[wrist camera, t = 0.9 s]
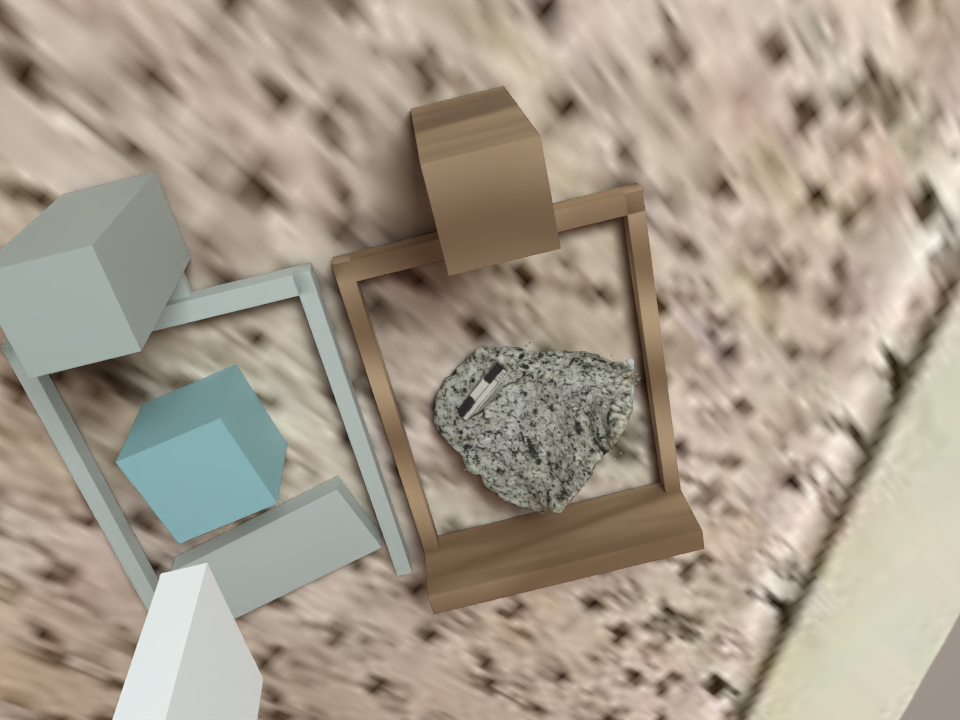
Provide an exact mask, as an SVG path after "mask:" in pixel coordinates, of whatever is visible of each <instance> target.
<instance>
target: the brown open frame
mask: <svg viewBox="0 0 960 720" xmlns="http://www.w3.org/2000/svg"><path fill="white" fill-rule="evenodd" d="M411 115H412V120H413V126H414V131H415V137H416V143H417V148H418V154H419V160H420V165H421V169H422V173H423V177H424V181H425V185H426V189H427V193H428V197H429V200H430V204H431V208H432V212H433V216H434V220H435V224H436V228H437V232H434V233H430V234H426V235H422V236H418V237H414V238H410V239H406V240H401V241H397V242H393V243H389V244H385V245H381V246H377V247H373V248H369V249H365V250H361V251H357V252H353V253H348V254H344V255H340V256H336V257H333V260H332V267H333V270H334V274H335V277H336V280H337V283H338V286H339V289H340V292H341V295H342V298H343V301H344V304H345V307H346V311H347V314H348V317H349V320H350V323H351V326H352V329H353V332H354V335H355V338H356V341H357V345H358V348H359V351H360V354H361V357H362V360H363V363H364V366H365V369H366V372H367V375H368V378H369V382H370V385H371V388H372V391H373V394H374V397H375V400H376V403H377V406H378V409H379V412H380V415H381V419H382V422H383V425H384V428H385V431H386V434H387V437H388V440H389V443H390V446H391V449H392V453H393V456H394V459H395V462H396V465H397V468H398V471H399V474H400V477H401V480H402V483H403V486H404V490H405V493H406V496H407V499H408V502H409V505H410V508H411V511H412V514H413V517H414V520H415V524H416V527H417V530H418V533H419V536H420V539H421V542H422V545H423V548H424V551H425V563H426V576H427V589H428V598H429V601H430V604H431V607H432V610H433V613H434V614H437V613H441V612H445V611H449V610H454V609H458V608H462V607H466V606H470V605H474V604H478V603H482V602H487V601H491V600H495V599H499V598H503V597H507V596H511V595H515V594H520V593H524V592H528V591H532V590H536V589H540V588H544V587H548V586H552V585H557V584H561V583H565V582H569V581H573V580H577V579H581V578H585V577H590V576H594V575H598V574H602V573H606V572H610V571H614V570H618V569H623V568H627V567H631V566H635V565H639V564H643V563H647V562H651V561H656V560H660V559H664V558H668V557H672V556H676V555H680V554H684V553H689V552H693V551H697V550H701V549H704V542H703V533H702V529H701V527H700V525H699V523H698V522H697V520H696V518H695V516H694V514H693V512H692V510H691V508H690V506H689V505H688V503H687V501H686V499H685V497H684V495H683V493H682V491H681V489H680V481H679V473H678V465H677V457H676V450H675V442H674V434H673V426H672V418H671V410H670V402H669V394H668V386H667V379H666V371H665V363H664V355H663V347H662V339H661V331H660V323H659V316H658V308H657V300H656V292H655V284H654V276H653V268H652V260H651V252H650V245H649V237H648V229H647V221H646V213H645V205H644V197H643V189H642V188H641V187H640V186H639V185H638V184H637V183H634V184H630V185H626V186H622V187H618V188H614V189H610V190H606V191H601V192H597V193H593V194H589V195H585V196H581V197H577V198H573V199H569V200H565V201H561V202H557V203H552V197H551V192H550V186H549V181H548V175H547V170H546V164H545V159H544V153H543V148H542V142H541V137H540V134H539V133H538V132H537V130H536V129H535V128H534V126H533V125H532V124H531V122H530V121H529V120H528V118H527V117H526V116H525V114H524V113H523V111H522V110H521V109H520V107H519V106H518V105H517V103H516V102H515V101H514V99H513V98H512V97H511V95H510V94H509V93H508V91H507V90H506V89H505V87H504V86H501V87H497V88H493V89H489V90H485V91H481V92H477V93H472V94H468V95H464V96H460V97H456V98H452V99H448V100H444V101H440V102H436V103H432V104H428V105H424V106H420V107H416V108H411ZM622 216H623V220H624V227H625V234H626V241H627V248H628V255H629V262H630V269H631V277H632V284H633V291H634V298H635V305H636V312H637V319H638V326H639V333H640V341H641V348H642V355H643V362H644V369H645V376H646V383H647V390H648V398H649V405H650V412H651V419H652V426H653V433H654V440H655V447H656V454H657V462H658V469H659V476H660V482H659V483H655V484H651V485H647V486H642V487H638V488H634V489H630V490H626V491H622V492H618V493H614V494H610V495H605V496H601V497H597V498H593V499H589V500H585V501H581V502H577V503H573V504H569V505H570V506H566V508H565V509H564V511H563V512H562V513H560V514H559V513H555V512H553V511H552V510H551V511H548V512H546V513H540V512H536V513H531V514H527V515H523V516H519V517H515V518H511V519H507V520H503V521H498V522H494V523H490V524H486V525H482V526H478V527H474V528H470V529H466V530H461V531H457V532H453V533H449V534H445V535H441V536H438V534H437V531H436V528H435V525H434V521H433V518H432V515H431V512H430V509H429V505H428V502H427V499H426V496H425V492H424V489H423V486H422V483H421V480H420V476H419V473H418V470H417V467H416V463H415V460H414V457H413V454H412V451H411V447H410V444H409V441H408V438H407V434H406V431H405V428H404V425H403V422H402V418H401V415H400V412H399V409H398V405H397V402H396V399H395V396H394V393H393V389H392V386H391V383H390V380H389V376H388V373H387V370H386V367H385V364H384V360H383V357H382V354H381V351H380V347H379V344H378V341H377V338H376V335H375V331H374V328H373V325H372V322H371V318H370V315H369V312H368V309H367V306H366V302H365V299H364V296H363V293H362V289H361V286H360V283H359V281H360V280H365V279H369V278H373V277H377V276H381V275H385V274H389V273H393V272H397V271H401V270H405V269H409V268H414V267H418V266H422V265H426V264H430V263H434V262H438V261H442V260H445V264H446V267H447V271H448V275H449V276H450V275H455V274H459V273H463V272H467V271H471V270H475V269H479V268H483V267H487V266H491V265H495V264H500V263H504V262H508V261H512V260H516V259H520V258H524V257H528V256H532V255H536V254H540V253H544V252H549V251H553V250H557V249H561V247H560V242H559V236H558V232H561V231H565V230H569V229H573V228H577V227H581V226H585V225H589V224H593V223H597V222H601V221H605V220H610V219H614V218H618V217H622Z"/></svg>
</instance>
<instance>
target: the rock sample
mask: <svg viewBox="0 0 960 720" xmlns="http://www.w3.org/2000/svg"><path fill="white" fill-rule="evenodd" d="M529 343H530V342H529ZM524 347H527V345H526V346H524ZM612 356H613V355H611V357H612ZM626 361H627V363H624V362H623V363H620V362H612V361H610V360H608V359H606V358H601V357H600V355H597V354H592V353H588V352H586V351H580V352H568V351H566V350H554V351H547V352H537V351H527V350H524V349H521V348H519V347H509V346H506V347H500V348H496V347H492V346H491V347H486V346H479V347H478V348H477V349H476V350H475V352H474V353H472V354H471V355H469V357H468V358H467V360H466V361H464V362H463V364H462V365H460V366H458V367H457V368H456V369H455V371H454V372H453V374H451V376H449V377H447V378H445V381H444V383H443V385H442V386H441V389H440V390H439V391H438V393H437V395H436V400H435V404H436V408H435V410H434V412H433V413H435V416H434V423H435V425H436V427H437V429H438V431H439V433H440V434H441V435H442V437H443V438H444V439H445V440H446V441H447V442H448V444H450V445H451V446H452V447H453V448H454V449H455V450H456V451H458V452H459V453H460V454H461V455H462V457H463V461H464V464H465V468H466V470H468V471H469V472H471V473H472V474H475V475H479V476H482V479H483V482H484V485H485V486H486V487H487V488H488V489H489V490H490V491H492V492H495V493H496V495H497V494H498V495H499V497H500V498H501V502H502V503H503V501H502V500H504V501H505V502H507V503H513V504H515V505H518V506H519V507H521V508H530V509H532V510H535V511H537V512H540V513H546V512H548V511H551V510H552V511H553V512H555V513H559V514H560V513H562V512H563V511H564V509H565V508H566V506H570V505H569V503H570V502H571V500H572V499H573V497H575V496H576V494H577V493H578V492H579V491H580V490H581V488H582V487H583V486H585V485H584V484H585V482H586V481H587V480H588V479H589V478H590V477H591V474H593V469H594V468H595V465H596V464H597V463H598V462H599V461H600V460H601V458H602V457H603V456H604V455H605V454H606V453H607V452H608V451H609V449H612V448H613V447H614V445H615V443H616V442H617V441H618V440H619V439H620V437H621V436H622V434H623V432H624V431H625V429H626V426H627V423H628V420H629V417H630V414H631V412H633V409H632V408H633V407H632V406H633V405H632V404H633V397H634V388H635V387H637V386H636V385H637V383H636V381H635V382H634V383H633V381H632V380H633V377H632V375H631V374H632V373H633V372H634V360H633V359H627V360H626ZM636 375H637V373H636ZM638 379H639V378H638ZM636 380H637V379H636ZM619 441H620V440H619ZM620 454H622V453H620ZM614 459H615V460H616V458H614ZM464 470H465V469H464ZM459 474H460V473H459ZM496 495H495V496H496Z"/></svg>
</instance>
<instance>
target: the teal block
mask: <svg viewBox="0 0 960 720" xmlns="http://www.w3.org/2000/svg"><path fill="white" fill-rule="evenodd" d="M286 448H287V443H286V441H285V440H284V438H283V436H282V435H281V433H280V432H279V430H278V429H277V427H276V425H275V424H274V422H273V421H272V419H271V418H270V416H269V414H268V413H267V411H266V410H265V408H264V407H263V405H262V404H261V402H260V400H259V399H258V397H257V396H256V394H255V393H254V391H253V389H252V388H251V386H250V385H249V383H248V382H247V380H246V378H245V377H244V375H243V374H242V372H241V371H240V369H239V368H238V366H237V364H236V365H233V366H231V367H229V368H226V369H224V370H222V371H219V372H217V373H215V374H212V375H210V376H208V377H205V378H203V379H201V380H198V381H196V382H193V383H191V384H189V385H186V386H184V387H182V388H179V389H177V390H175V391H172V392H170V393H168V394H165V395H163V396H161V397H158V398H156V399H154V400H151V401H149V402H147V403H144V404H143V405H142V407H141V409H140V412H139V414H138V416H137V418H136V420H135V422H134V424H133V426H132V429H131V431H130V433H129V435H128V437H127V439H126V441H125V443H124V446H123V448H122V450H121V452H120V454H119V456H118V458H117V460H116V463H117V465H118V466H119V467H120V469H121V470H122V471H123V473H124V474H125V475H126V476H127V478H128V479H129V480H130V482H131V483H132V484H133V485H134V487H135V488H136V489H137V491H138V492H139V493H140V494H141V496H142V497H143V498H144V500H145V501H146V502H147V503H148V505H149V506H150V507H151V509H152V510H153V511H154V513H155V514H156V515H157V516H158V518H159V519H160V520H161V522H162V523H163V524H164V525H165V527H166V528H167V529H168V531H169V532H170V533H171V534H172V536H173V537H174V538H175V540H176V541H177V542H178V543H179V544H180V543H182V542H185V541H187V540H189V539H192V538H194V537H197V536H199V535H202V534H204V533H207V532H209V531H211V530H214V529H216V528H219V527H221V526H224V525H226V524H229V523H231V522H233V521H236V520H238V519H241V518H243V517H246V516H248V515H251V514H253V513H255V512H258V511H260V510H263V509H265V508H268V507H270V506H273V505H275V504H277V503H278V497H279V491H280V484H281V478H282V472H283V466H284V460H285V454H286Z"/></svg>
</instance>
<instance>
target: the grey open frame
mask: <svg viewBox="0 0 960 720" xmlns="http://www.w3.org/2000/svg"><path fill="white" fill-rule="evenodd" d="M190 259H191V258H190V256H189V253H188V251H187V248H186V246H185V243H184V241H183V238H182V236H181V234H180V231H179V229H178V226H177V224H176V221H175V219H174V216H173V214H172V212H171V209H170V207H169V204H168V202H167V199H166V197H165V194H164V192H163V190H162V187H161V185H160V182H159V180H158V177H157V175H156V172H151V173H147V174H143V175H139V176H135V177H131V178H127V179H123V180H119V181H115V182H111V183H106V184H102V185H98V186H94V187H90V188H86V189H82V190H78V191H74V192H70V193H66V194H62V195H61V196H60V197H59V198H58V199H57V200H56V201H54V202H53V203H52V204H51V205H50V206H49V207H48V208H47V209H46V210H44V211H43V212H42V213H41V214H40V215H39V216H38V217H37V218H36V219H34V220H33V221H32V222H31V223H30V224H29V225H28V226H27V227H25V228H24V229H23V230H22V231H21V232H20V233H19V234H18V235H17V236H15V237H14V238H13V239H12V240H11V241H10V242H9V243H8V244H7V245H5V246H4V247H3V248H2V249H1V250H0V325H1V327H2V329H3V331H4V333H5V334H6V336H7V340H6V341H5V342H4V343H3V344H2V345H1V349H2V350H3V352H4V354H5V356H6V358H7V359H8V361H9V363H10V365H11V367H12V368H13V370H14V372H15V374H16V376H17V377H18V379H19V381H20V383H21V385H22V386H23V388H24V390H25V392H26V393H27V395H28V397H29V399H30V401H31V402H32V404H33V406H34V408H35V410H36V411H37V413H38V415H39V417H40V419H41V420H42V422H43V424H44V426H45V428H46V429H47V431H48V433H49V435H50V437H51V438H52V440H53V442H54V444H55V446H56V447H57V449H58V451H59V453H60V455H61V456H62V458H63V460H64V462H65V464H66V465H67V467H68V469H69V471H70V473H71V474H72V476H73V478H74V480H75V482H76V483H77V485H78V487H79V489H80V491H81V492H82V494H83V496H84V498H85V500H86V501H87V503H88V505H89V507H90V509H91V510H92V512H93V514H94V516H95V518H96V519H97V521H98V523H99V525H100V527H101V528H102V530H103V532H104V534H105V536H106V537H107V539H108V541H109V543H110V545H111V546H112V548H113V550H114V552H115V554H116V555H117V557H118V559H119V561H120V563H121V564H122V566H123V568H124V570H125V572H126V573H127V575H128V577H129V579H130V581H131V582H132V584H133V586H134V588H135V590H136V591H137V593H138V595H139V597H140V599H141V600H142V602H143V604H144V606H145V608H146V609H147V611H149V608H150V605H151V602H152V599H153V596H154V593H155V590H156V587H157V584H158V581H159V580H158V578H157V576H156V574H155V572H154V571H153V569H152V567H151V565H150V563H149V561H148V559H147V557H146V556H145V554H144V552H143V550H142V548H141V546H140V544H139V542H138V541H137V539H136V537H135V535H134V533H133V531H132V529H131V527H130V526H129V524H128V522H127V520H126V518H125V516H124V514H123V512H122V511H121V509H120V507H119V505H118V503H117V501H116V499H115V498H114V496H113V494H112V492H111V490H110V488H109V486H108V484H107V483H106V481H105V479H104V477H103V475H102V473H101V471H100V469H99V468H98V466H97V464H96V462H95V460H94V458H93V456H92V454H91V453H90V451H89V449H88V447H87V445H86V443H85V441H84V439H83V438H82V436H81V434H80V432H79V430H78V428H77V426H76V424H75V423H74V421H73V419H72V417H71V415H70V413H69V411H68V410H67V408H66V406H65V404H64V402H63V400H62V398H61V396H60V395H59V393H58V391H57V389H56V387H55V385H54V383H53V381H52V380H51V378H50V376H49V374H50V373H54V372H58V371H62V370H66V369H71V368H75V367H79V366H83V365H87V364H91V363H95V362H99V361H103V360H107V359H111V358H115V357H120V356H124V355H128V354H132V353H136V352H140V351H142V349H143V347H144V345H145V343H146V341H147V339H148V338H149V336H150V334H151V332H152V331H156V330H160V329H164V328H168V327H173V326H177V325H181V324H185V323H189V322H193V321H197V320H201V319H205V318H209V317H213V316H217V315H222V314H226V313H230V312H234V311H238V310H242V309H246V308H250V307H254V306H258V305H262V304H266V303H271V302H275V301H279V300H283V299H287V298H291V297H295V296H300V299H301V302H302V305H303V308H304V311H305V314H306V316H307V319H308V322H309V325H310V328H311V331H312V334H313V336H314V339H315V342H316V345H317V348H318V351H319V354H320V356H321V359H322V362H323V365H324V368H325V371H326V373H327V376H328V379H329V382H330V385H331V388H332V391H333V393H334V396H335V399H336V402H337V405H338V408H339V411H340V413H341V416H342V419H343V422H344V425H345V428H346V431H347V433H348V436H349V439H350V442H351V445H352V448H353V450H354V453H355V456H356V459H357V462H358V465H359V468H360V470H361V473H362V476H363V479H364V482H365V485H366V488H367V490H368V493H369V496H370V499H371V502H372V505H373V508H374V510H375V513H376V516H377V519H378V522H379V525H380V527H381V530H382V533H383V536H384V539H385V542H386V545H387V547H388V550H389V553H390V556H391V559H392V562H393V565H394V567H395V570H396V573H397V576H401V575H405V574H409V573H412V563H411V558H410V555H409V552H408V549H407V546H406V543H405V540H404V537H403V534H402V531H401V528H400V525H399V522H398V519H397V516H396V513H395V510H394V507H393V504H392V501H391V498H390V495H389V492H388V489H387V486H386V483H385V481H384V478H383V475H382V472H381V469H380V466H379V463H378V460H377V457H376V454H375V451H374V448H373V445H372V442H371V439H370V436H369V433H368V430H367V427H366V424H365V421H364V418H363V415H362V412H361V409H360V406H359V403H358V400H357V397H356V394H355V391H354V388H353V385H352V382H351V379H350V376H349V373H348V370H347V367H346V364H345V361H344V359H343V356H342V353H341V350H340V347H339V344H338V341H337V338H336V335H335V332H334V329H333V326H332V323H331V320H330V317H329V314H328V311H327V308H326V305H325V302H324V299H323V296H322V293H321V290H320V287H319V284H318V281H317V278H316V275H315V272H314V269H313V266H312V263H308V264H304V265H299V266H295V267H291V268H287V269H283V270H279V271H275V272H271V273H267V274H263V275H259V276H255V277H250V278H246V279H242V280H238V281H234V282H230V283H226V284H222V285H218V286H214V287H210V288H206V289H202V290H197V291H193V292H192V290H191V287H190V285H189V282H188V280H187V278H186V275H185V273H184V270H185V268H186V267H187V265H188V263H189V261H190Z"/></svg>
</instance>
